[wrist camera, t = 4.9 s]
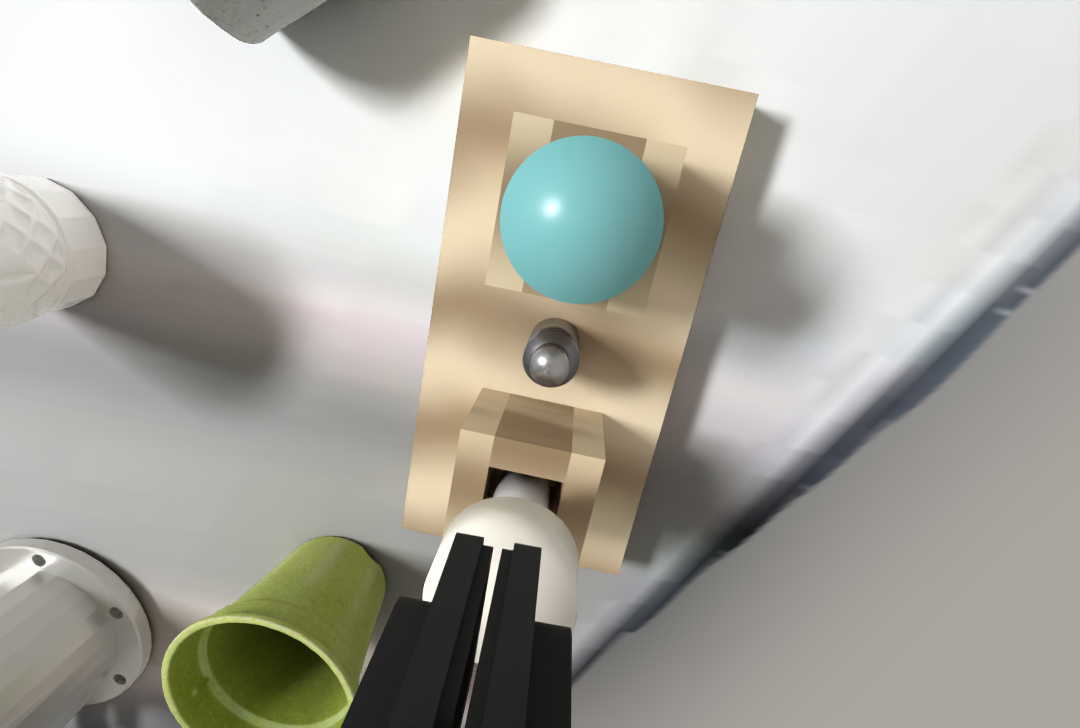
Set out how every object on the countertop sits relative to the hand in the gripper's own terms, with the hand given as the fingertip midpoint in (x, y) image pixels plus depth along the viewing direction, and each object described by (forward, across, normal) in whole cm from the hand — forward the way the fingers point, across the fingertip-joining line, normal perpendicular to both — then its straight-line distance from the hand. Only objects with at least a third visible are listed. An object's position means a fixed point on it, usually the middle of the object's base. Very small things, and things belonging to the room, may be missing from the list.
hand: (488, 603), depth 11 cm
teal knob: (+16, -1, -7) cm, 18 cm away
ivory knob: (+13, 0, +5) cm, 14 cm away
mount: (+18, 0, -1) cm, 19 cm away
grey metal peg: (+16, 0, -1) cm, 17 cm away
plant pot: (+19, +10, +17) cm, 27 cm away
